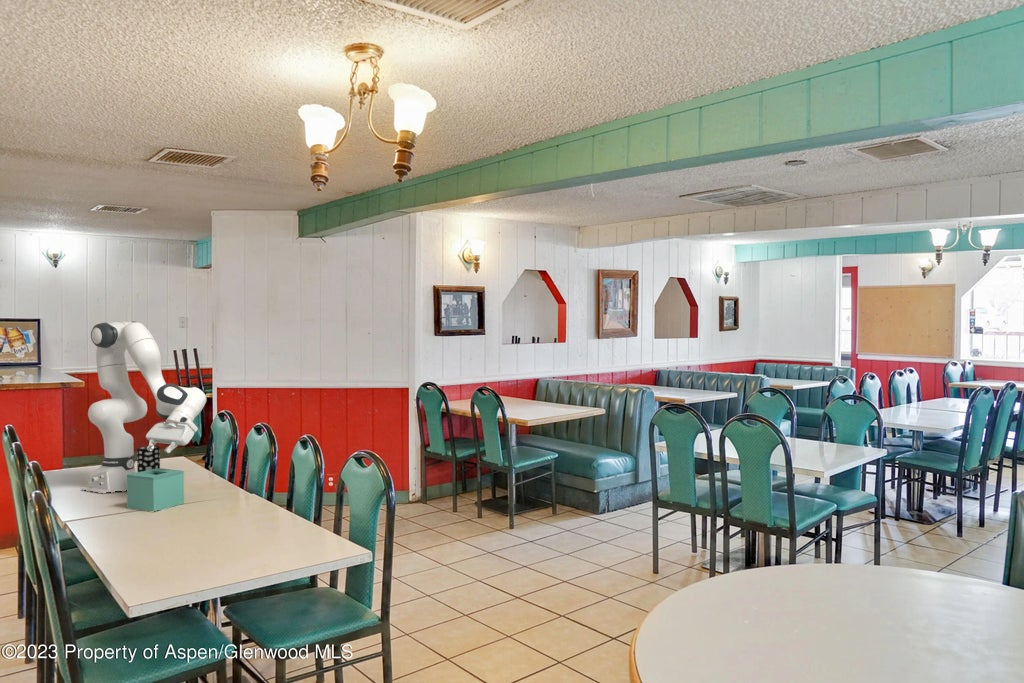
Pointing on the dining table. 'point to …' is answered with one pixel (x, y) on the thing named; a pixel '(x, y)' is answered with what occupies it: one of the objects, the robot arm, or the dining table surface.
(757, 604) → the dining table surface
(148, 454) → the white-spotted black cylinder
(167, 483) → the box
